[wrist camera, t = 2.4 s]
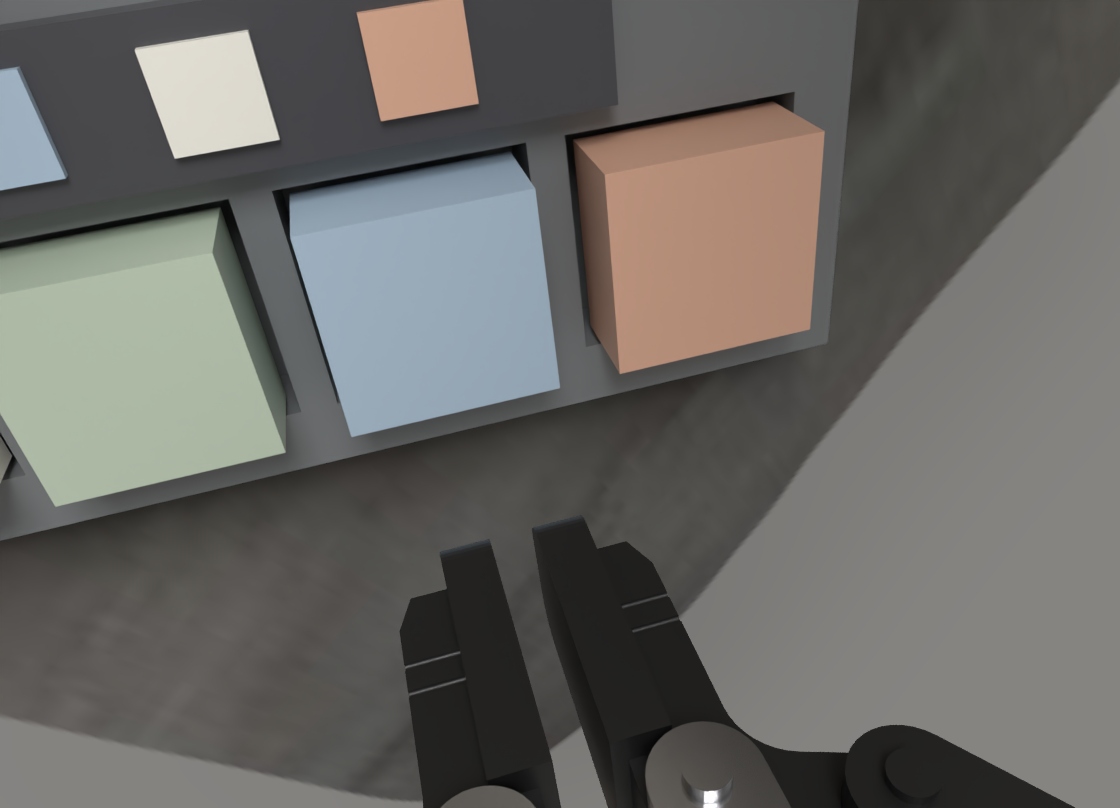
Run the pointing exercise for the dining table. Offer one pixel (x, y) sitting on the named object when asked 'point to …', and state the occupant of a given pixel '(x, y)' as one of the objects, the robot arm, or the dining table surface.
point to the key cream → (4, 458)
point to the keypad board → (378, 154)
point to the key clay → (699, 232)
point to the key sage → (135, 357)
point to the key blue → (428, 290)
